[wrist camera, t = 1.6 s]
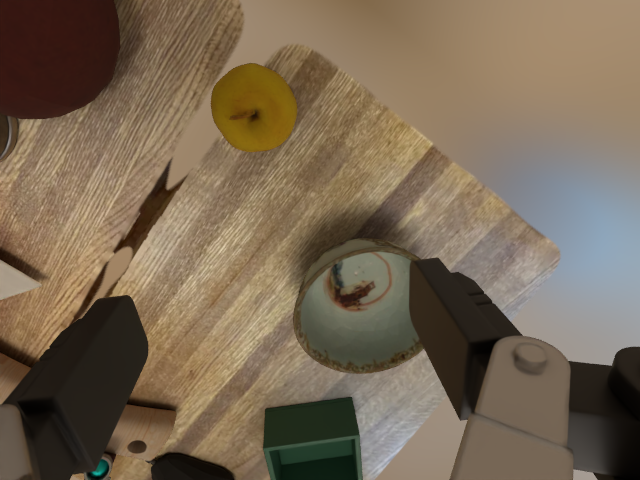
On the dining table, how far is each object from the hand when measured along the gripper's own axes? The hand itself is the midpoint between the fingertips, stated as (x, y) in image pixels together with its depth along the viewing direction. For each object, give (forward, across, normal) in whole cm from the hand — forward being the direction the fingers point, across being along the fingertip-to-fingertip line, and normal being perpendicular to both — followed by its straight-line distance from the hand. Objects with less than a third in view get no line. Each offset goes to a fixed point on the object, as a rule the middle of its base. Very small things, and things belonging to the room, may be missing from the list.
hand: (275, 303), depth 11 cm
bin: (+25, +1, +39) cm, 46 cm away
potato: (+15, +16, -11) cm, 25 cm away
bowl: (+26, -6, +15) cm, 30 cm away
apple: (+26, +2, -3) cm, 26 cm away
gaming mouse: (+26, +19, +43) cm, 53 cm away
